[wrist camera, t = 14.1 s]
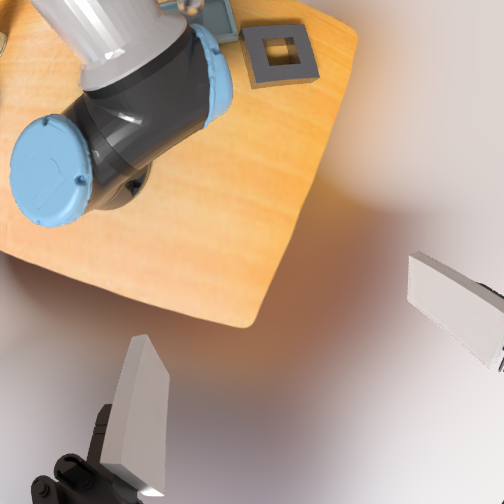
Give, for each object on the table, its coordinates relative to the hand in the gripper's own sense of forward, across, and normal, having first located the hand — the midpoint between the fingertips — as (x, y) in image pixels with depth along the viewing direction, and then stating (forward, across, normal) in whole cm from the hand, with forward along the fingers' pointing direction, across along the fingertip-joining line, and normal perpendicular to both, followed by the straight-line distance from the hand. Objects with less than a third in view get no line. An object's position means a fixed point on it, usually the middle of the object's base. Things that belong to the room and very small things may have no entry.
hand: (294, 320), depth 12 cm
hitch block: (+37, +14, +24) cm, 46 cm away
